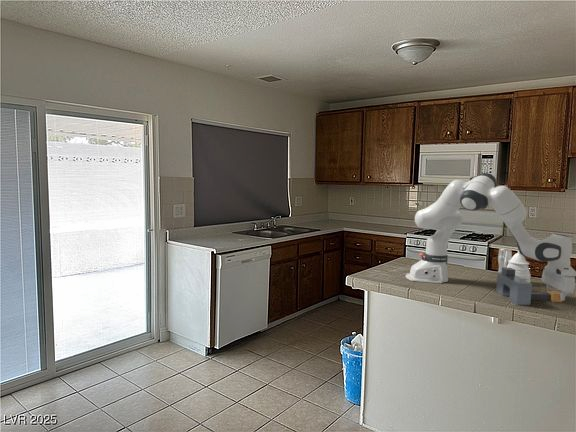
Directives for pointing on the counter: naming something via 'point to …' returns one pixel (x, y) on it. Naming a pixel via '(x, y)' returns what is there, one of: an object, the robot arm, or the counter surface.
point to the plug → (547, 296)
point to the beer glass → (504, 258)
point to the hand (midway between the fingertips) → (555, 297)
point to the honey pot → (520, 266)
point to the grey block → (513, 287)
